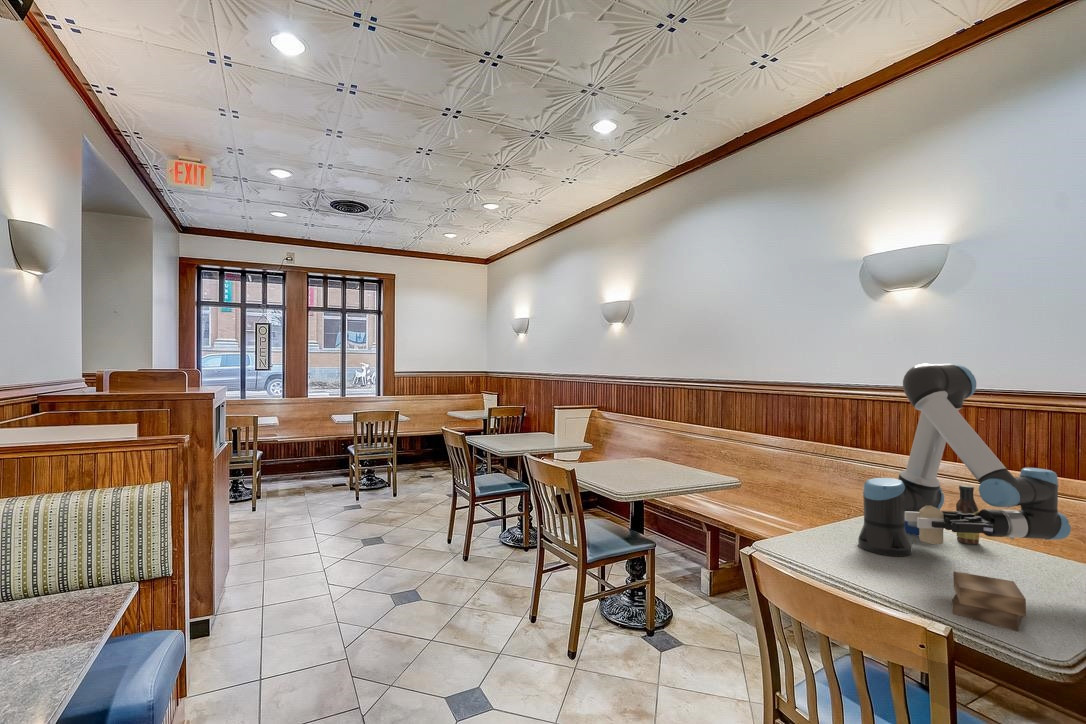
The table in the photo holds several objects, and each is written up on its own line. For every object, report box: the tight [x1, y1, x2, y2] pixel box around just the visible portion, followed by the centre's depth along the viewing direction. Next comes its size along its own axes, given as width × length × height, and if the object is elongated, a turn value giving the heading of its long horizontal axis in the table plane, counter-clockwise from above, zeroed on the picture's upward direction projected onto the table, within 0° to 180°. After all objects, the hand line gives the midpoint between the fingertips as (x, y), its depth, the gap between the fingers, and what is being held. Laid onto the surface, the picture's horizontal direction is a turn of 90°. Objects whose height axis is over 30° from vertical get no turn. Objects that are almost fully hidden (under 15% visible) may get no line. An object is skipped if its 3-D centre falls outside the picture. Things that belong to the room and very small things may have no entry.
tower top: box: [952, 571, 1027, 617], centre depth 127 cm, size 12×12×4 cm
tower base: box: [951, 593, 1024, 632], centre depth 127 cm, size 12×12×4 cm
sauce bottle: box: [955, 484, 980, 545], centre depth 181 cm, size 7×6×20 cm
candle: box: [918, 506, 944, 545], centre depth 147 cm, size 6×6×10 cm
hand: (911, 519), depth 147 cm, fingers closed on candle, 5 cm apart
